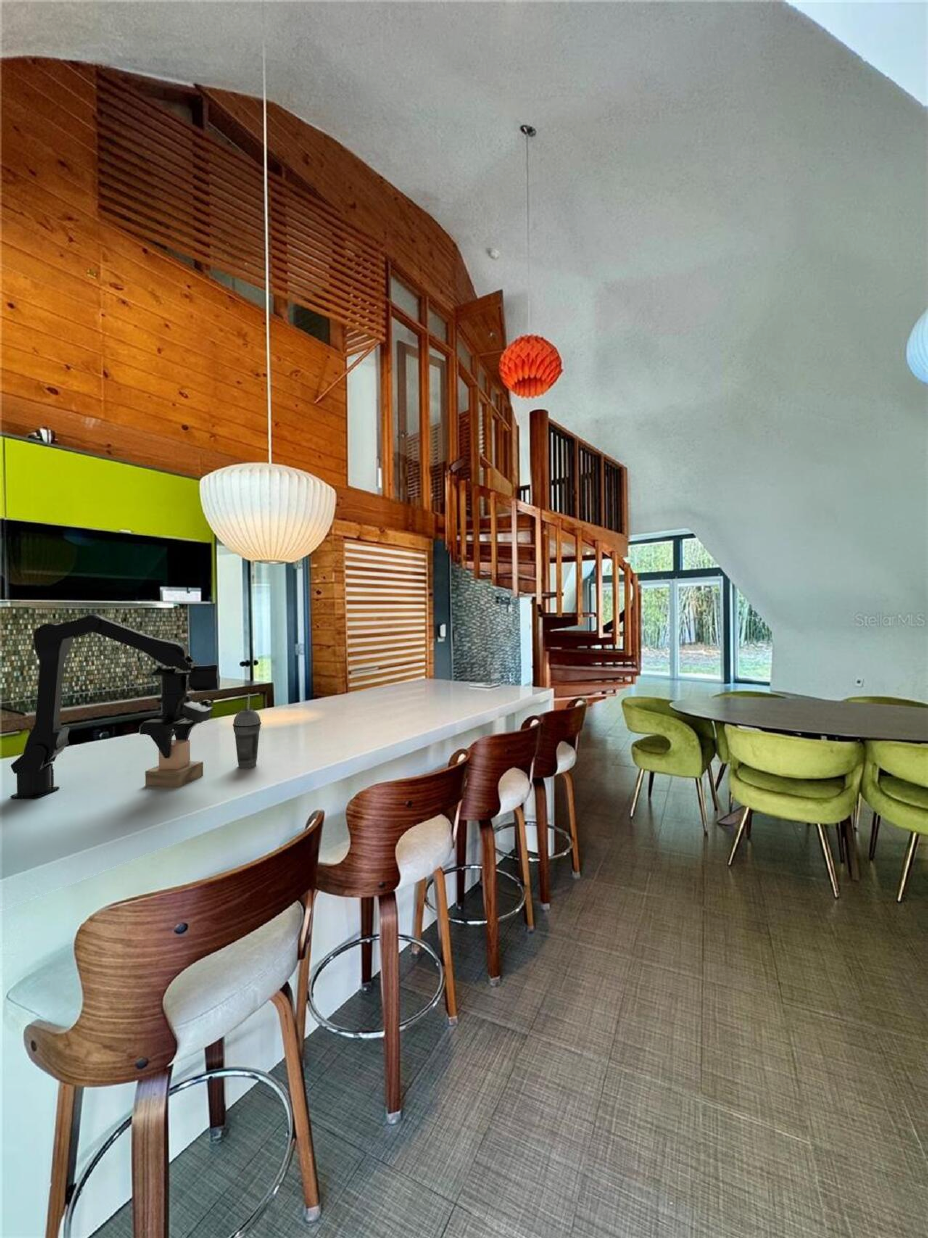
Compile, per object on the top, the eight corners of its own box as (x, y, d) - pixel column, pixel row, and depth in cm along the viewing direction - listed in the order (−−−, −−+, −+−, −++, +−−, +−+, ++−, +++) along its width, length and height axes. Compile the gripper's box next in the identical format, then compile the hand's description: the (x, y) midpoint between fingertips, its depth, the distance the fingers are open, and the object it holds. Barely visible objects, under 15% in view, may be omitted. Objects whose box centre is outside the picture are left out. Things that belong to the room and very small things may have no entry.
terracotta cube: (178, 769, 126) (178, 745, 126) (158, 769, 126) (158, 745, 126) (190, 763, 131) (189, 739, 131) (170, 763, 131) (170, 739, 131)
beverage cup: (253, 760, 145) (252, 690, 145) (266, 765, 141) (266, 693, 140) (227, 766, 140) (227, 693, 139) (241, 771, 135) (240, 696, 135)
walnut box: (179, 789, 123) (179, 772, 123) (145, 787, 125) (145, 771, 124) (203, 777, 132) (203, 761, 132) (171, 775, 133) (171, 760, 133)
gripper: (184, 699, 118) (185, 766, 119) (224, 687, 137) (224, 745, 137) (137, 699, 119) (138, 765, 119) (183, 687, 137) (183, 744, 138)
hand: (174, 754), depth 128 cm, fingers open, 6 cm apart
